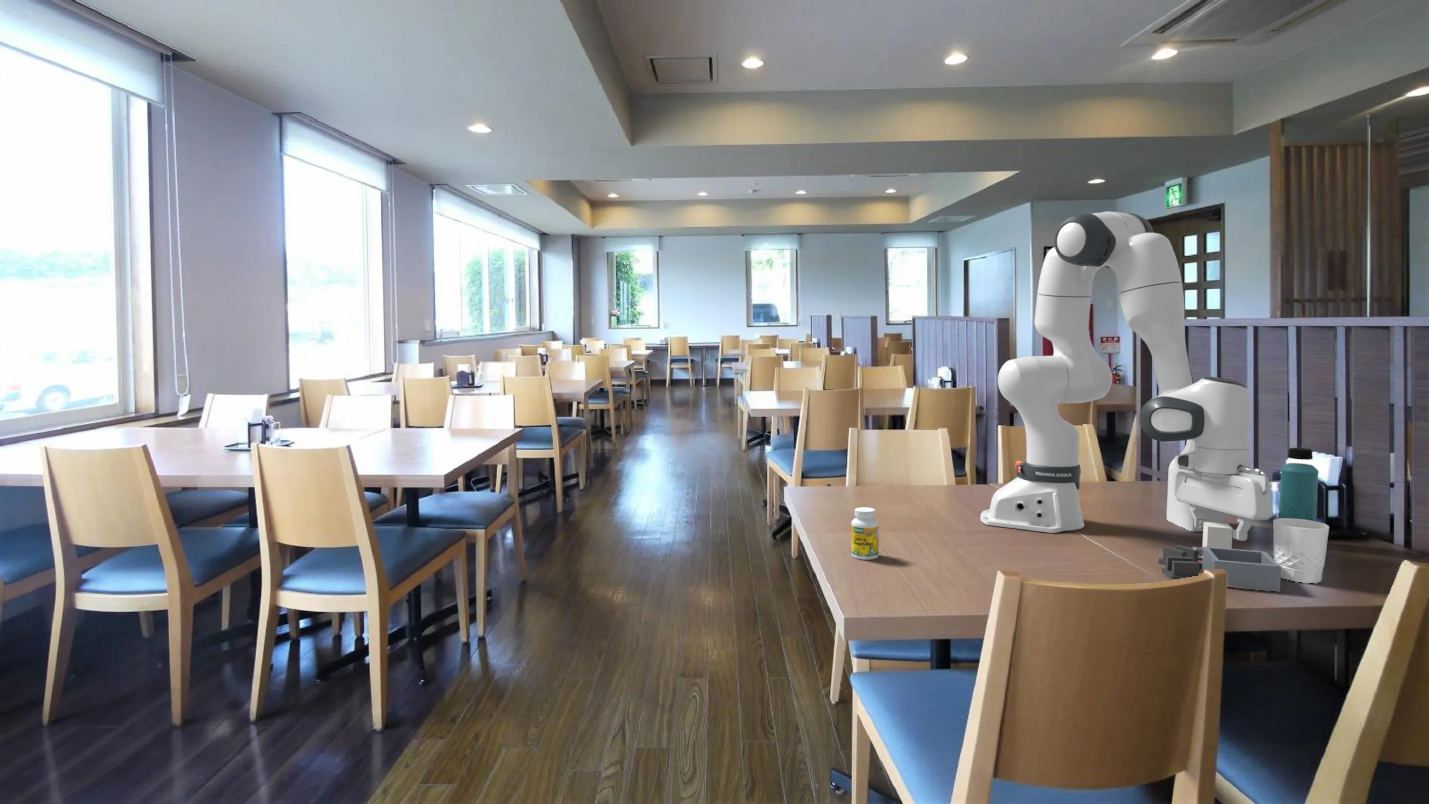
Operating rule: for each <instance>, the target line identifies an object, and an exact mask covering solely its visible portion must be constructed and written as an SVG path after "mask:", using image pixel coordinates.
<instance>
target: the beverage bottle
mask: <svg viewBox="0 0 1429 804" xmlns="http://www.w3.org/2000/svg"><path fill="white" fill-rule="evenodd" d="M1287 458H1288V459H1293V460H1301V461H1302V460H1305V461H1306V460H1307V461H1308V460H1313V459H1314V456H1313V449H1310V448H1305V447H1289V448H1288V452H1287ZM1318 483H1319V470H1318V469H1317V467H1315V465H1312V464H1309V463H1303V462H1302V463H1299V462H1289V463H1286V464H1284V465H1283V466H1282V467H1281V468H1280V485H1279V486H1280V488H1279V500H1278V512H1277V513H1278V514H1277V515H1278V519H1280V518H1293V519H1304V520H1310V521H1316V522H1318V515H1317V514H1318V509H1319V506H1318V505H1319V503H1318V487H1319V486H1318Z"/></svg>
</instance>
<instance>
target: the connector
mask: <svg viewBox="0 0 1429 804" xmlns="http://www.w3.org/2000/svg"><path fill="white" fill-rule="evenodd" d="M1233 530H1234V529H1233V527H1232V526H1231V525H1230V524H1229V523H1227V522H1225V523H1224V522H1223V523H1213V522H1204V524H1203V532H1202V547H1201V546H1200V547H1199V546H1192V547H1191V548H1192V549H1195V550H1198V557H1199V556H1201V557H1202V558H1203V547H1215V548H1227V549H1233V548H1232V547H1233Z"/></svg>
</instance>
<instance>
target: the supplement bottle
mask: <svg viewBox="0 0 1429 804" xmlns="http://www.w3.org/2000/svg"><path fill="white" fill-rule="evenodd" d="M854 516H855V518H853V520H851V524H850V525H851V526H850V528H851V529H850V530H851V535H850V536H851V539H850V541H851V542H850V544H851V557H853V558H854V559H857V560H861V561H862V560H864V561H870V560H871V561H872V560H876V559H877V558H878V557H879V555H880V554H879V553H880V551H879V549H880V547H879V546H880V545H879V544H880V542H879V541H880V540H879V536H880V535H879V534H880V533H879V532H880V529H879V527H880V526H879V524H880V523H879V521H878V519H876V518H875V517H876V509H875V508H872V507H865V506H863V507H856V508H855V509H854Z"/></svg>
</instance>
